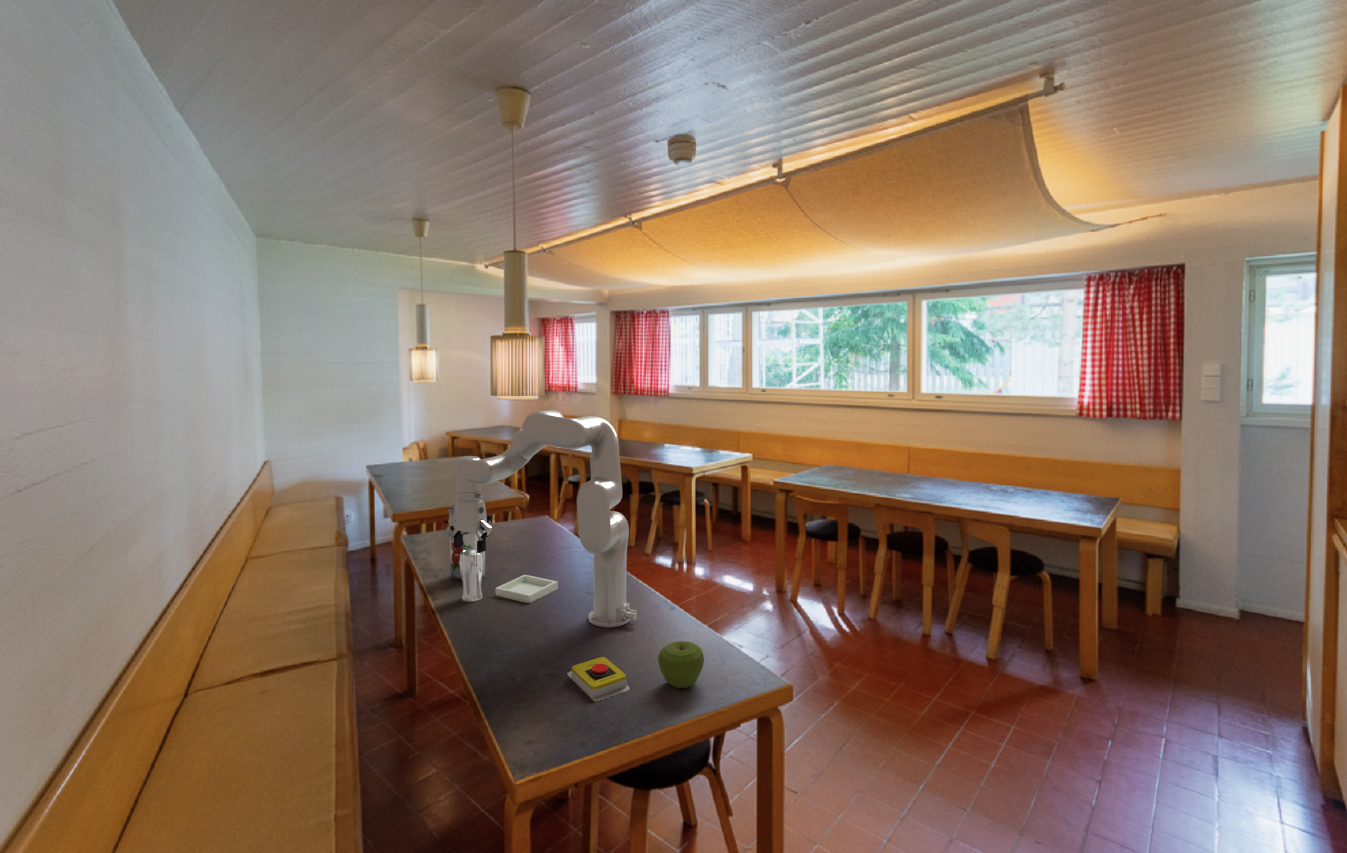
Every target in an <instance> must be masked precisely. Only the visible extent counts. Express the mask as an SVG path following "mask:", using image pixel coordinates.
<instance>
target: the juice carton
mask: <svg viewBox="0 0 1347 853" xmlns="http://www.w3.org/2000/svg"><path fill="white" fill-rule="evenodd" d="M454 508H455V504H453V505H451V506H449V507H448V520H449V519H451V518H453V517H454ZM448 525H449V524H448ZM448 529H449V530H448V531H449V532H448V533H449V559H450V560H449V561H450V562H449V563H450V564H449V565H450V578H451V579H452V580H455V581H462V578H461V573H460V553H461V552H462V551H464V550H469V549H477V540H478V538H477V536H476V534H472V533H467V532H461V533H462V534H463V546H461V547H458V548H454V535H452V531H451V529H450V525H449V528H448ZM480 535H482V534H481V533H480ZM482 556H483V573H482V577H484V576H485V575H486V574H485V573H486V572H485V571H486V551H484V552H482Z"/></svg>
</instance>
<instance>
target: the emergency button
mask: <svg viewBox="0 0 1347 853" xmlns="http://www.w3.org/2000/svg"><path fill="white" fill-rule="evenodd" d="M567 676H568V677H569V679H571V681H573V682H574V684H576V686H578V687H579V689H581V690H582V691H583V693H585V694H586V695H587V696H588V697H589V698H590V699H591V700H592V701H593V702H601V701H603V700H606V698H607V699H609V698H612V697H614V696H618V695H619V694H620V693H621V694H623V693H626V692H629V691H630V686H629V685H628V684H627V674H626V673H624V671H622V670H621V669H619V668H618V667H617V666H616V665H615V664H613V662H611V661H610V660H609V659H608V658H607V657H605V656H600V657H598V658H597V657H596V658H595V659H591V660H587V661H585V662H584V661H583V662H581V663H578V664H574V665H572V666H571V670H570V671H568V672H567ZM617 694H618V695H617ZM611 696H612V697H611ZM600 700H601V701H600Z"/></svg>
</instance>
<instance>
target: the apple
mask: <svg viewBox="0 0 1347 853" xmlns="http://www.w3.org/2000/svg"><path fill="white" fill-rule="evenodd" d="M657 662H658V665H659V670H660V672H661V674H662V676H663V679H664V681H666V683H668V684H669V685H670V686H672V687H673V688H675V687H676V688H675V689H679V688H684V689H687V688H689V687H690V686H692V685H695V683H697V680H698V678H699V676H700V675H701V672H702V670H703V666H704V663H705V657H704V653H703V649H702V647H700V646H699V645H697V644H696V643H694V642H691V641H686V640H678V641H673V642H669V643H668V644H666V645H664V646H662V648H661V650H660V651H659V653H658V656H657Z"/></svg>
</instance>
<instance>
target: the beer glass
mask: <svg viewBox="0 0 1347 853" xmlns="http://www.w3.org/2000/svg"><path fill="white" fill-rule="evenodd" d="M460 573H461V578H462V580H461V582H462V590H463V591H462V596H461V597H462V598H461V600H462V602H467V603H474V602H478V601H479V600H481V599H483V593H482V580H483V578H482V573H483V556H482V552H481V553H477V549H469V550H464V551H462V552H461V553H460Z"/></svg>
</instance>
